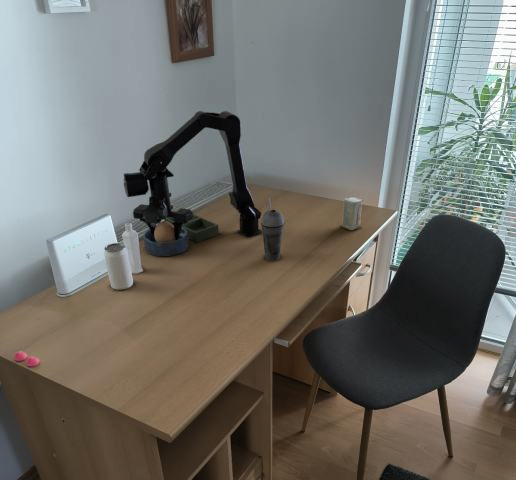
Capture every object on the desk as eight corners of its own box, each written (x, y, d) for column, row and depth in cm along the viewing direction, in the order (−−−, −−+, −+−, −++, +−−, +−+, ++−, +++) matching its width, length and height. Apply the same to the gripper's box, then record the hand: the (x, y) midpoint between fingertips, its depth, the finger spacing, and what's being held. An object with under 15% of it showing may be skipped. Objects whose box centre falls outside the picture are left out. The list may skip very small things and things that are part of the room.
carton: (218, 234, 174) (218, 224, 172) (196, 242, 169) (195, 232, 167) (186, 219, 186) (186, 210, 184) (165, 226, 181) (163, 217, 178)
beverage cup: (284, 262, 156) (285, 200, 144) (261, 262, 156) (260, 200, 144) (283, 252, 162) (284, 191, 150) (261, 252, 162) (260, 192, 150)
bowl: (197, 247, 166) (195, 233, 163) (161, 261, 158) (159, 246, 155) (172, 235, 174) (170, 221, 171) (137, 247, 166) (135, 233, 164)
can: (137, 281, 147) (130, 244, 140) (126, 291, 142) (118, 253, 135) (118, 278, 149) (111, 241, 142) (106, 288, 144) (98, 250, 137)
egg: (168, 252, 162) (165, 227, 157) (151, 247, 165) (147, 223, 160) (182, 244, 167) (180, 220, 162) (166, 239, 170) (162, 215, 165)
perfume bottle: (147, 268, 154) (139, 222, 145) (138, 274, 151) (130, 228, 142) (135, 266, 156) (126, 220, 147) (126, 272, 152) (117, 225, 144)
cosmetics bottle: (360, 227, 177) (363, 200, 171) (351, 230, 175) (353, 202, 169) (350, 223, 180) (352, 196, 175) (341, 226, 179) (343, 198, 173)
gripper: (120, 198, 151) (128, 245, 160) (176, 203, 146) (181, 252, 156) (137, 186, 160) (145, 232, 169) (191, 191, 155) (195, 237, 164)
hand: (166, 238), depth 164 cm, fingers closed on egg, 7 cm apart
